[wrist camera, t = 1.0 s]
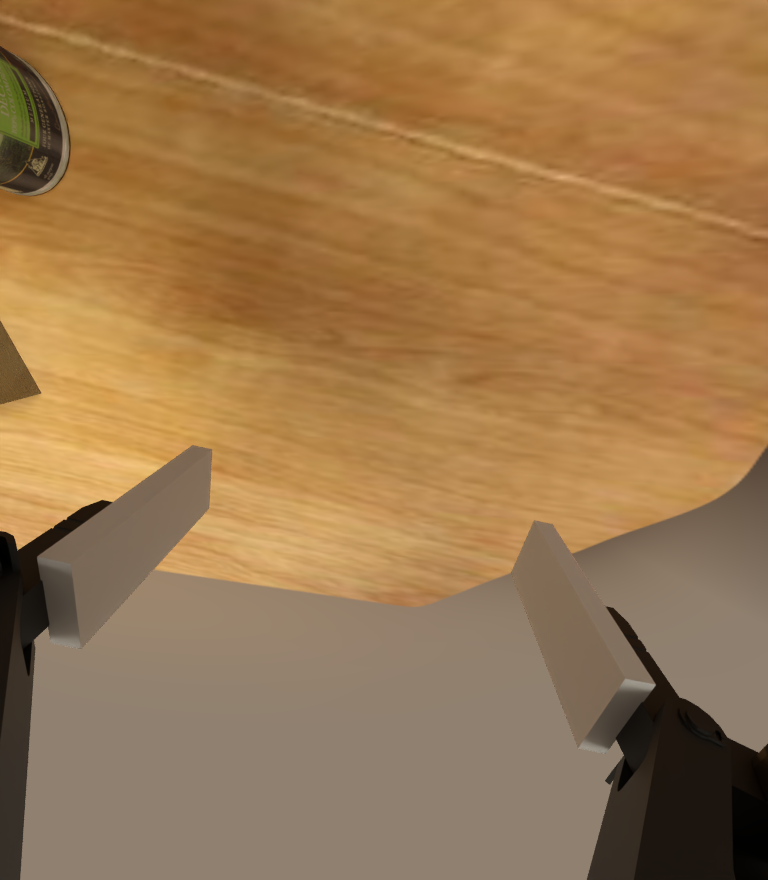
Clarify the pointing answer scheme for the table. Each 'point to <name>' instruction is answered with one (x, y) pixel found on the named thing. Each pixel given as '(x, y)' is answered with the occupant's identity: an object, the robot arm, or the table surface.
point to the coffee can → (29, 130)
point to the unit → (13, 372)
